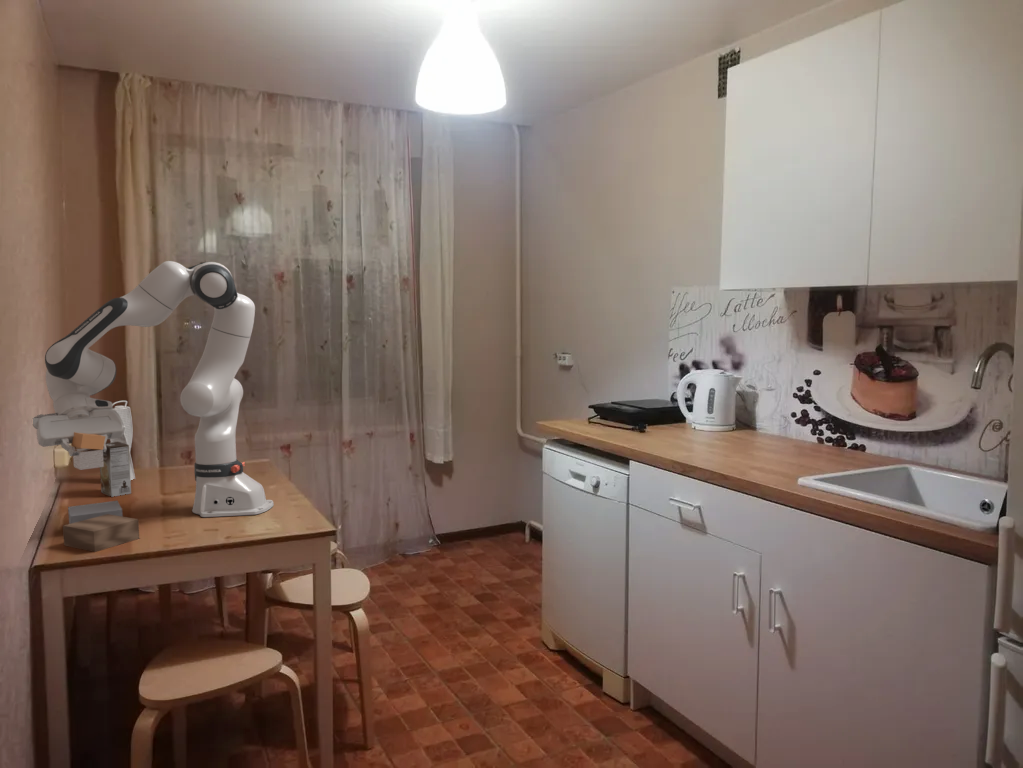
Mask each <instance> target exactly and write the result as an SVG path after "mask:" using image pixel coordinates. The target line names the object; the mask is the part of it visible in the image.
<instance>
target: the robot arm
mask: <svg viewBox="0 0 1023 768" xmlns="http://www.w3.org/2000/svg"><path fill="white" fill-rule="evenodd" d="M191 296H196V297H198V298H199V299H200V300H201V301H203V302H204V303H206V304H208V305H210V306H211V307H213V309H214V312H213V318H212V322H211V326H210V329H209V332H208V336H207V339H206V343H205V346H204V350H203V353H202V355H201V357H200V359H199V361H198V363H197V365H196V367H195V369H194V371H193V373H192V376H191V378H190V380H189V381H188V383H187V384H186V385H185V387H184V388H183V389H182V391H181V393H180V405H181V407H182V409H183V410H184V411H185V412H186V413H187V414H188V415H190V416H193V417H199V423H198V427H197V430H196V432H195V434H194V449H195V450H194V451H195V462H194V472H193V473H194V480H195V496H194V502H193V506H192V509H191V511H192V513H193V514H196V515H199V516H200V517H202V518H212V517H213V518H214V517H215V518H216V517H232V516H233V517H234V516H235V517H236V516H254V515H259V514H262V513H264V512H267V511H269V510H270V509H272V508H273V507H274V500H272V499H266V494H265V493H266V492H265V489H264V487H263V485H262V484H261V483H260V482H259V481H257V480H255V479H254V478H252V477H251V476H249V475H248V474H246V473H245V472H244V467H245V466H246V465H245V464H246V462H245V461H243V462H240V461H239V460H238V459H237V445H236V443H237V440H236V436H237V435H236V434H237V433H236V432H237V424H238V418H239V413H240V412H239V410H240V404H241V402H242V399H243V397H244V388H243V385H242V384H241V382H240V381H239V380H238V379H236V375H237V373H238V371H239V370H240V368H241V367H242V366H243V364H244V362H245V358H246V356H247V351H248V348H249V345H250V340H251V336H252V332H253V329H254V325H255V324H254V323H255V314H256V313H255V312H256V305H255V303H254V301H253V300H252V299H251V298H250V297H249V296H246V295H244V294H242V293H239V292H238V291H237V288H236V284H235V280H234V278H233V275H232V273H231V271H230V269H228V268H227V267H226V266H225V265H223V264H222V263H220V262H215V261H205V262H200V263H198V264H195V265H192V266H189V267H186V266H184V265H183V264H181V263H179V262H177V261H173V260H166V261H163V262H162V263H160V264H159V265H158V266H156V267H155V268H154V269H153V270H152V271H150V273H148V274H147V275H146V276H145V277H144V278H143V279H142V280H141V281H140V282H139V284H138V285H137V286H136V287H135V288H133V289H132V290H131V291H129V292H128V293H127V294H124V295H123V296H120V297H115V298H111V299H110V300H108V301H107V302H105V303H104V304H103V305H101V306H100V307H99V308H98V309H96V310H95V311H94V312H93V313H92V314H91V315H90V316H89V317H87V318H86V319H85V320H83V321H82V322H81V323H80V324H79V325H78V326H77V327H76V328H74V329H73V330H72V331H71V332H69V333H68V334H66V336H64V337H62V338H60V339H59V340H57V341H55V342H54V343H53V344H51V346H49V347H48V349H47V351H46V352H45V355H44V364H45V368H46V372H45V385H46V387H47V388H46V389H47V391H48V394H49V397H50V399H51V400H52V401H53V402H52V406H53V410H54V412H53V413H46V414H43V413H42V414H37V415H36V416H34V417H33V418H32V419H33V424H32V426H33V428H34V429H35V430H36V439H37V444H38V445H39V446H41V447H52V446H61V448H62V449H63V450H65V451H67V453H68V454H69V457H73V456H76V455H77V450H76V449H77V447H74V446H72V440H73V437H74V432H76V433H86V434H97V435H102V436H105V441H104V447H103V452H106V450H107V448H106V445H105V444H106V443H107V441H108V440H110V439H115V438H121V437H122V435H123V434H124V431H125V426H124V424H123V421H122V419H121V417H120V416H119V414H118V413H117V412H116V411H115V410H113V408H114V407H113V406H114V405H113V402H112V401H109V400H107V399H106V400H104V399H100V398H99V399H98V398H93V397H91V396H94V395H96V394H98V393H100V392H102V391H103V390H106V389H107V388H109V387H110V386H111V385H112V384H113V383H114V381H115V379H116V377H117V366H116V363H115V361H114V360H113V359H111V358H109V357H108V356H105V355H103V354H102V353H100V352H98V351H97V352H96V351H94V350H91V349H90V348H91V347H92V346H93V345H94V344H96V342H98V341H99V340H100V339H102V337H103V336H104V335H105V334H107V332H109V331H111V330H113V329H114V328H117V327H123V326H134V327H141V328H149V327H156V326H159V325H160V324H162V323H164V322H165V320H167V319H168V318H169V317H170V316H171V315H172V314H173V312H174V311H175V310H176V309H177V308H178V306H179V305H180V304H181V303H182V302H183V301H184V300H185V299H186V298H189V297H191Z"/></svg>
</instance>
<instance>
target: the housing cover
mask: <svg viewBox="0 0 1023 768" xmlns="http://www.w3.org/2000/svg"><path fill="white" fill-rule="evenodd" d="M104 441H105V436H102V435H97V434H86V433H76V432H74V437H73V440H72V443H71V446H72V447H76V448H77V449H83V448H86V449H100V450H103V447H104Z"/></svg>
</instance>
